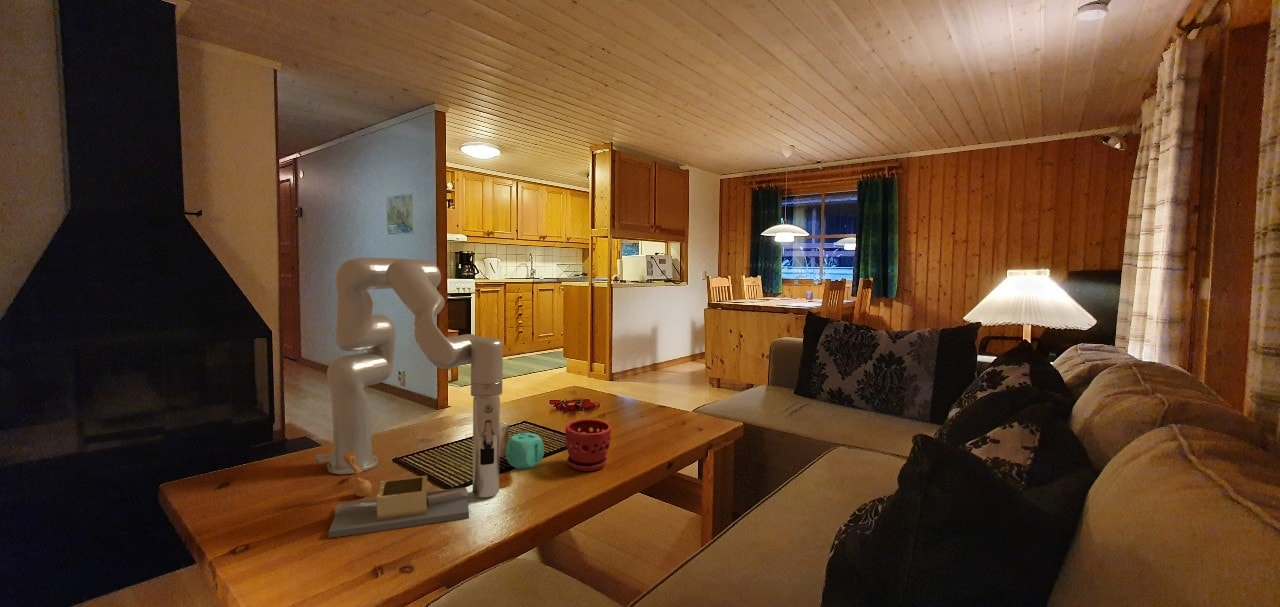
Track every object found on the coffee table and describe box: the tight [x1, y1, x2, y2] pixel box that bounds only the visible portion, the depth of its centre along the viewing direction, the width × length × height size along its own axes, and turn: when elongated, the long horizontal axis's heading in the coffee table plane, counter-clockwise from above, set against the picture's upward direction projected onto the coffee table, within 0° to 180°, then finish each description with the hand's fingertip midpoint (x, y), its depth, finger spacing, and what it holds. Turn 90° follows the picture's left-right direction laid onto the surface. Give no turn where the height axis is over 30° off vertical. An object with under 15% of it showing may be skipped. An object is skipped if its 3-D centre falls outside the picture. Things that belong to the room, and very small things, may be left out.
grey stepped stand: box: [334, 475, 468, 521], centre depth 122 cm, size 28×10×5 cm, turn 111°
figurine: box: [343, 450, 373, 498], centre depth 130 cm, size 8×6×12 cm
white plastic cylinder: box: [472, 396, 501, 498], centre depth 132 cm, size 6×6×25 cm
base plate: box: [328, 486, 470, 539], centre depth 122 cm, size 28×14×2 cm, turn 111°
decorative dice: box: [505, 432, 545, 470], centre depth 153 cm, size 8×8×8 cm
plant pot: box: [565, 418, 612, 472], centre depth 153 cm, size 13×13×12 cm
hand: (486, 458), depth 132 cm, fingers closed on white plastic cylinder, 5 cm apart
